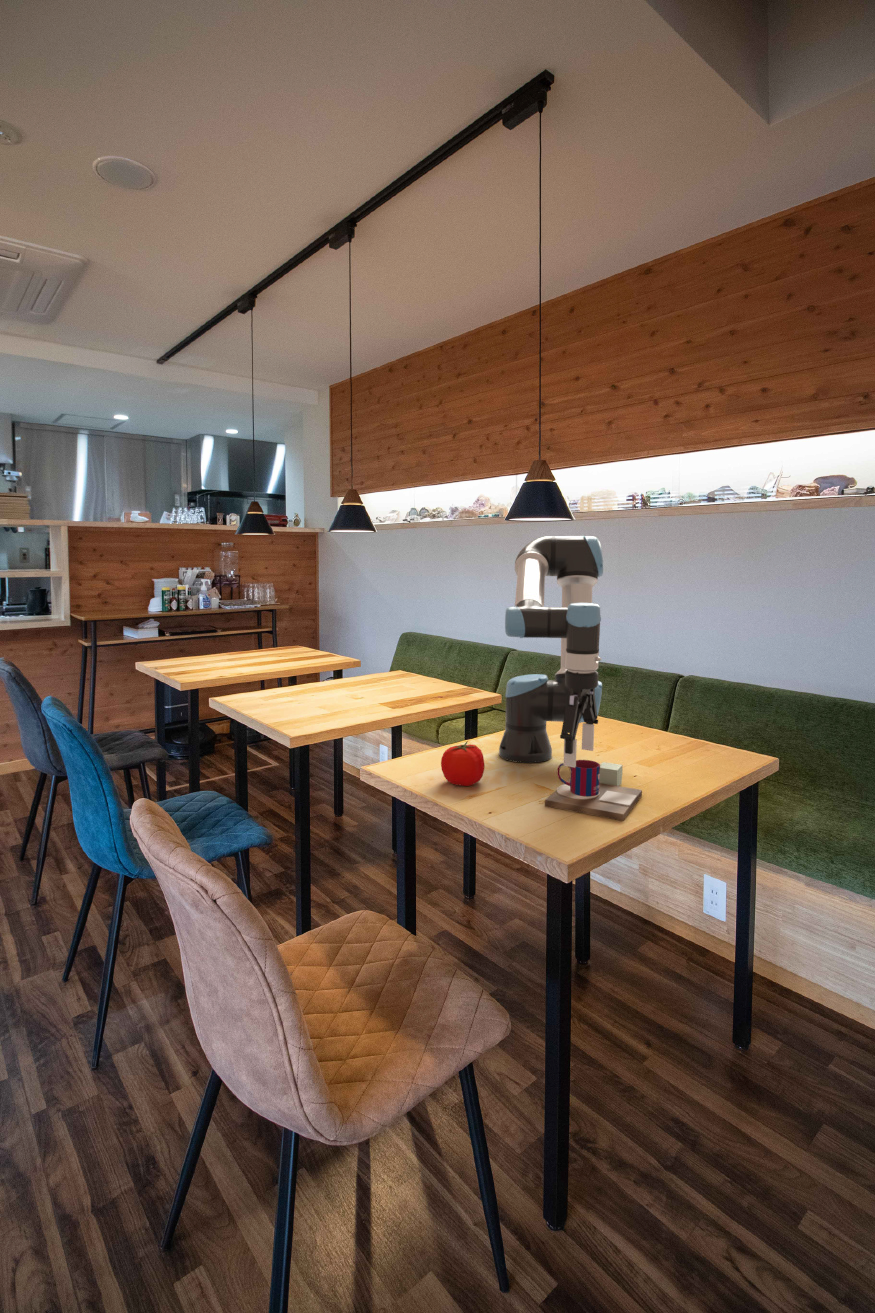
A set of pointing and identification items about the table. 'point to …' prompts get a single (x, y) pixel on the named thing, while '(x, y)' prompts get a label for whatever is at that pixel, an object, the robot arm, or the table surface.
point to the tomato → (463, 764)
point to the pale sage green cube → (611, 774)
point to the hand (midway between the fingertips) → (578, 757)
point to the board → (596, 801)
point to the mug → (583, 778)
